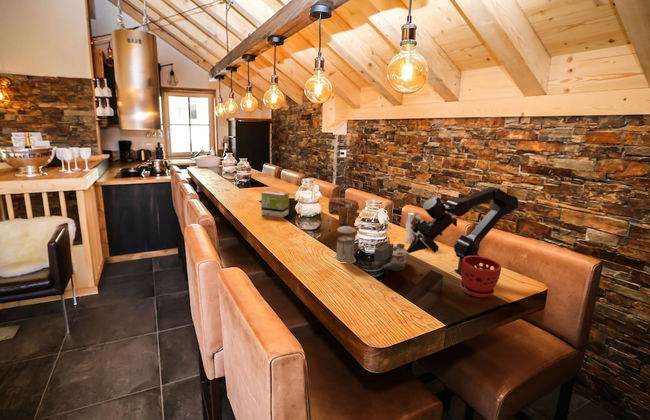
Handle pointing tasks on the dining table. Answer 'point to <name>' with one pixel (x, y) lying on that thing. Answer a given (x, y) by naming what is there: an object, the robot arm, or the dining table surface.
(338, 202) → the bread
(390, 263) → the pot
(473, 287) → the plant pot
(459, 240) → the robot arm
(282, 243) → the dining table surface
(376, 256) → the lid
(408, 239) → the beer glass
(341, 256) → the french press
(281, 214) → the tea box
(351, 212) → the stuffed squirrel
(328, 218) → the dining table surface
